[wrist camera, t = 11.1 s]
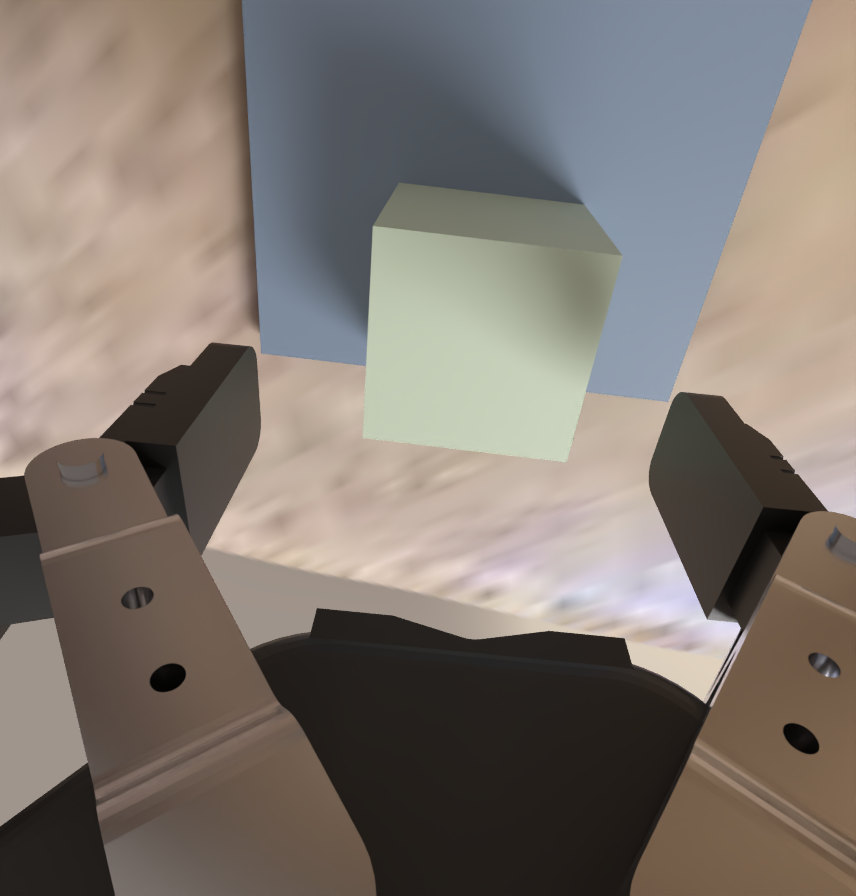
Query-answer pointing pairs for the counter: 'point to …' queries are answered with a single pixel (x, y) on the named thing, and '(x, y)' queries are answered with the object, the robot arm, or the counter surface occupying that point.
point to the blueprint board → (508, 146)
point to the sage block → (484, 320)
